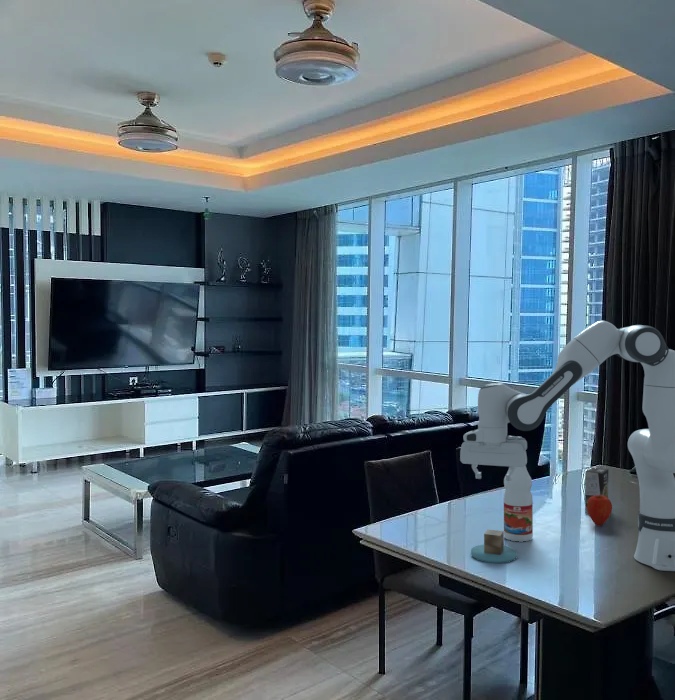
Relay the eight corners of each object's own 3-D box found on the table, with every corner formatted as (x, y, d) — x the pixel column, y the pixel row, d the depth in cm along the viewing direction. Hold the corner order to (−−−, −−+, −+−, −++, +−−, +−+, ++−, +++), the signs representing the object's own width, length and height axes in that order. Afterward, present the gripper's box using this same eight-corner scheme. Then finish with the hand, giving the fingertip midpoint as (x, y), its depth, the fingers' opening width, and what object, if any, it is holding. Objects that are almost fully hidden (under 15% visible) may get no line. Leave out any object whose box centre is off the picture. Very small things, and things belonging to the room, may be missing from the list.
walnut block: (503, 550, 214) (503, 531, 214) (500, 555, 210) (500, 535, 210) (487, 548, 216) (487, 529, 216) (484, 553, 212) (484, 533, 212)
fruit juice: (534, 535, 232) (534, 453, 231) (530, 543, 223) (529, 459, 222) (506, 532, 236) (506, 452, 235) (501, 540, 227) (500, 457, 226)
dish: (520, 551, 217) (520, 547, 217) (512, 565, 204) (512, 561, 204) (476, 545, 222) (476, 542, 222) (466, 559, 210) (466, 555, 210)
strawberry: (614, 529, 237) (614, 498, 237) (588, 528, 239) (588, 497, 239) (609, 522, 246) (609, 492, 245) (585, 521, 247) (585, 491, 247)
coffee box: (602, 516, 253) (602, 473, 252) (584, 513, 257) (584, 471, 256) (609, 510, 260) (609, 468, 260) (592, 508, 264) (591, 467, 264)
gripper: (528, 435, 210) (529, 479, 211) (463, 432, 219) (464, 475, 219) (525, 438, 204) (526, 484, 205) (458, 435, 213) (459, 479, 214)
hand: (493, 479), depth 212 cm, fingers open, 8 cm apart
